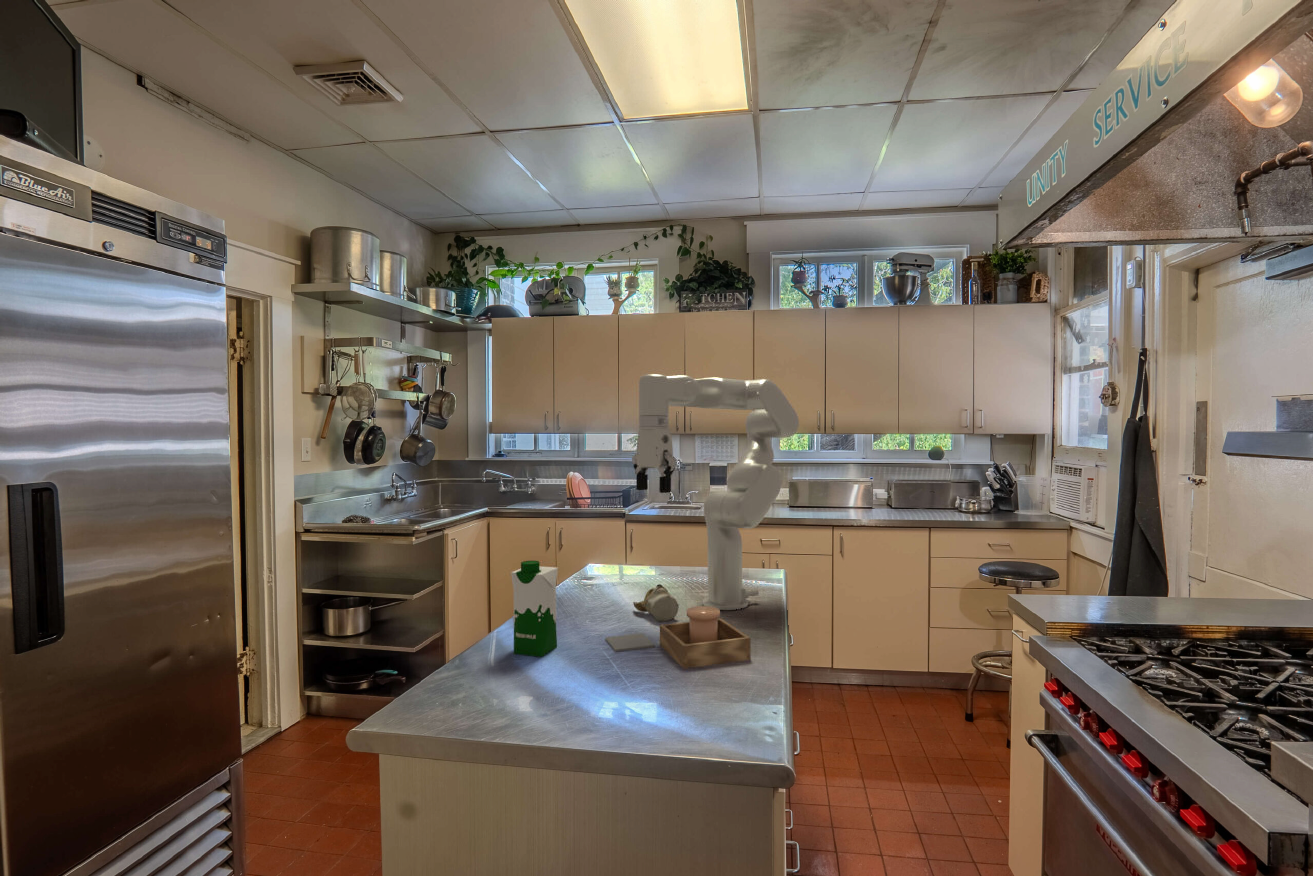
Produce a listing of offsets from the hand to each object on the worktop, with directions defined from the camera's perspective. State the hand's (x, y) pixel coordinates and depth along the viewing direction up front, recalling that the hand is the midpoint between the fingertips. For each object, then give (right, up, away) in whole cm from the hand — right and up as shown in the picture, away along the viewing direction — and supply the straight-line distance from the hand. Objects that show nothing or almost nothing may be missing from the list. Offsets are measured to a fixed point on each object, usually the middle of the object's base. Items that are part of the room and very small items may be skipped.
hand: (653, 491), depth 164 cm
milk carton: (-26, -34, -20) cm, 47 cm away
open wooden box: (+11, -33, -24) cm, 42 cm away
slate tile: (-5, -34, -17) cm, 38 cm away
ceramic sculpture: (+1, -34, +6) cm, 34 cm away
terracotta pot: (+11, -33, -24) cm, 42 cm away
